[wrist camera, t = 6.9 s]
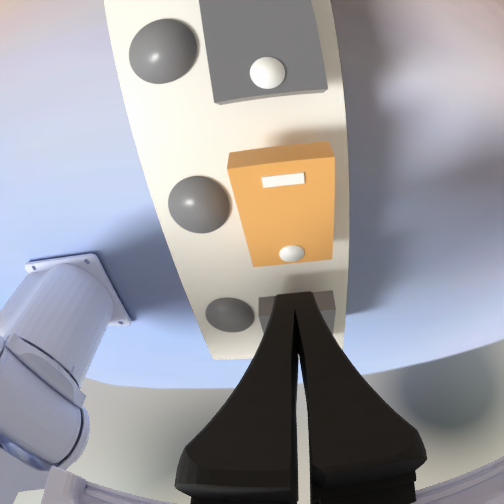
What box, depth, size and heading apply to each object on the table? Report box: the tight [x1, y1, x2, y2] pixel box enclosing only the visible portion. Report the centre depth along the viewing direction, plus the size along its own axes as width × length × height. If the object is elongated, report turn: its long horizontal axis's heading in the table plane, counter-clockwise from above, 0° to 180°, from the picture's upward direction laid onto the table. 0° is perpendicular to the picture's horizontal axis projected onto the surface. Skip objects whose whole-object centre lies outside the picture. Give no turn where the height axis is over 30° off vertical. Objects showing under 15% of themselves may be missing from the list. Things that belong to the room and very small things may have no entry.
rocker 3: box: [258, 290, 336, 359], centre depth 18 cm, size 6×4×1 cm, turn 9°
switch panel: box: [104, 0, 349, 360], centre depth 18 cm, size 31×10×4 cm, turn 9°
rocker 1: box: [199, 0, 328, 105], centre depth 9 cm, size 6×4×1 cm, turn 9°
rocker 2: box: [227, 141, 335, 267], centre depth 13 cm, size 6×4×1 cm, turn 9°
